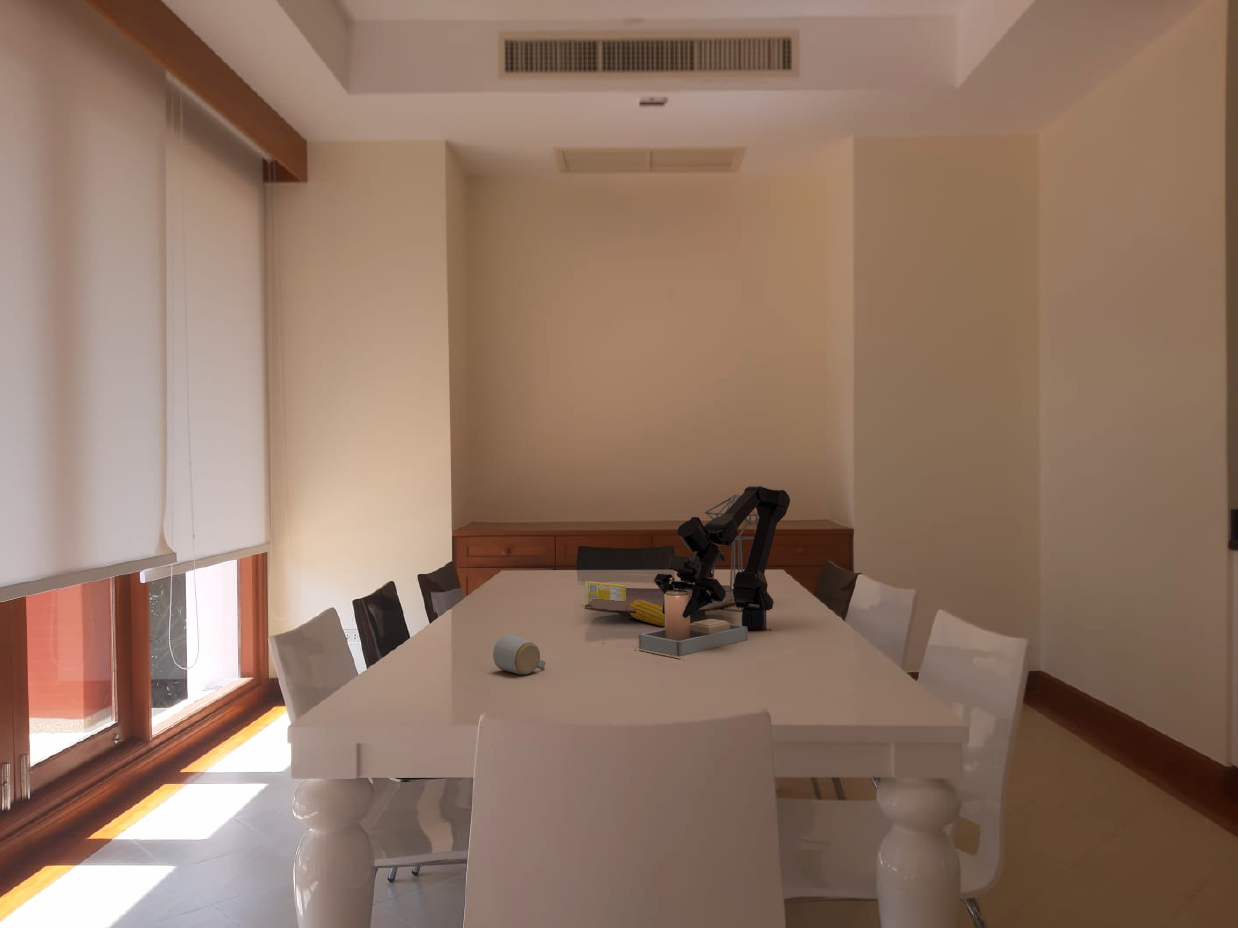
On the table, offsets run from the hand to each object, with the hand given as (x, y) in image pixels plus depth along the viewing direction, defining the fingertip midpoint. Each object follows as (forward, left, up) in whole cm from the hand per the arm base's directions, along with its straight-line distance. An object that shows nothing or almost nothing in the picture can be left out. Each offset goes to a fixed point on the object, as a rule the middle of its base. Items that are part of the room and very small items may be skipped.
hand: (673, 615), depth 204 cm
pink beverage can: (-1, 0, -8) cm, 8 cm away
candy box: (-29, -56, -9) cm, 64 cm away
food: (-23, -29, -9) cm, 38 cm away
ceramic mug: (+37, -11, -9) cm, 39 cm away
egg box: (-13, 0, -8) cm, 15 cm away
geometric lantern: (-59, -28, -9) cm, 66 cm away
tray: (-7, 0, -9) cm, 11 cm away
